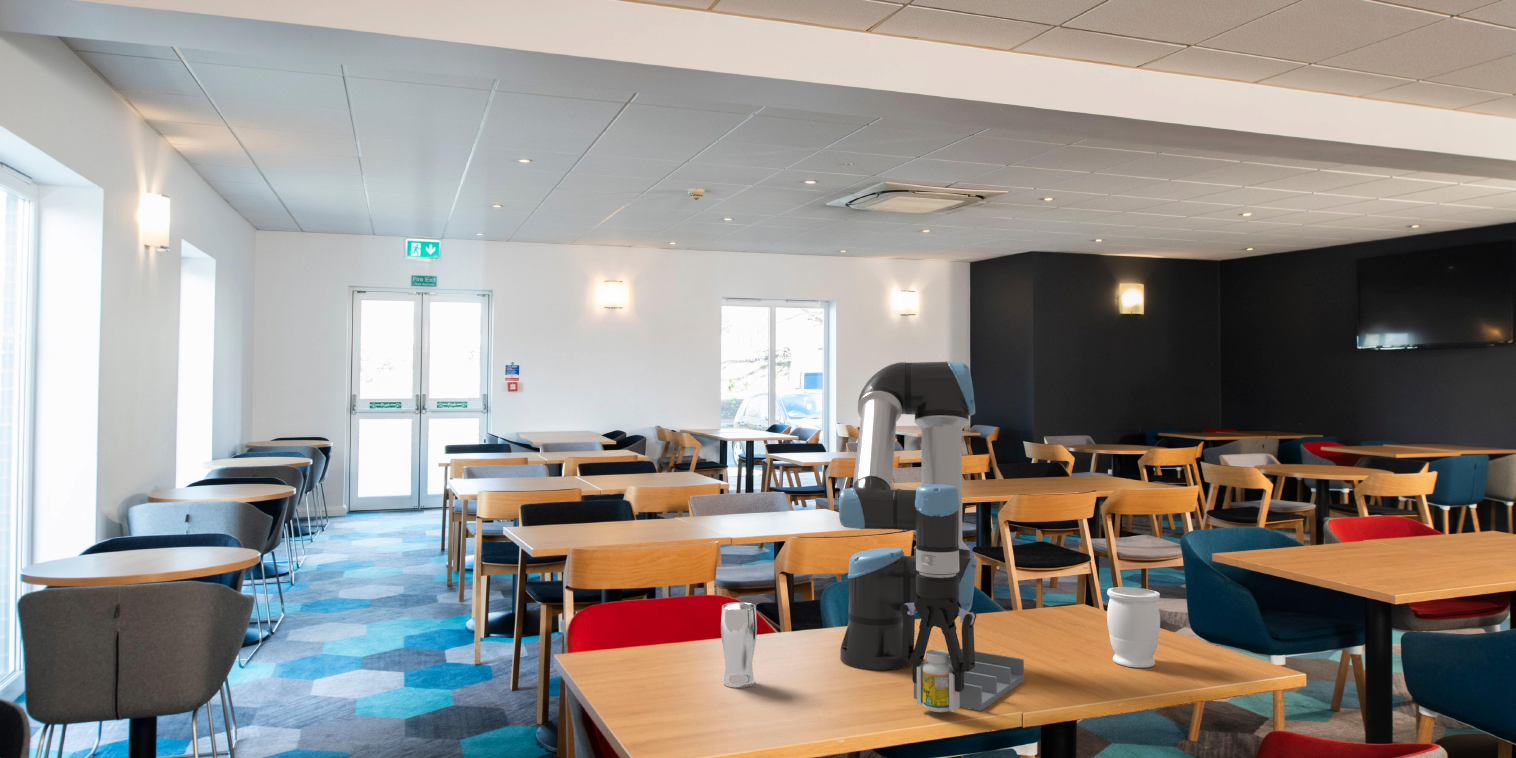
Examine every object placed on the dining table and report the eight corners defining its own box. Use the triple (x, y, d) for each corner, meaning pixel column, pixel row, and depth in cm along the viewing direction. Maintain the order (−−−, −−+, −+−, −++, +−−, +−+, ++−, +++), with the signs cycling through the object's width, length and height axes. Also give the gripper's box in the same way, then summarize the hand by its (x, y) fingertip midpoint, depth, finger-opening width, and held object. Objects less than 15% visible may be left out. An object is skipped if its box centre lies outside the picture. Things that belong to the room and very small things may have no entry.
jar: (1166, 671, 186) (1165, 597, 186) (1112, 668, 188) (1111, 595, 189) (1154, 657, 196) (1153, 587, 197) (1103, 654, 198) (1102, 585, 199)
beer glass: (725, 690, 173) (725, 610, 174) (717, 679, 180) (717, 603, 180) (760, 687, 175) (760, 608, 176) (751, 676, 182) (751, 601, 182)
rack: (913, 697, 169) (913, 674, 169) (961, 669, 187) (961, 648, 187) (980, 711, 161) (980, 687, 162) (1023, 680, 180) (1023, 659, 180)
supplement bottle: (957, 712, 158) (957, 656, 158) (926, 713, 158) (926, 657, 158) (948, 701, 163) (948, 647, 163) (919, 702, 163) (919, 648, 163)
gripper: (880, 570, 163) (881, 701, 163) (979, 583, 152) (980, 722, 152) (899, 564, 169) (900, 689, 169) (995, 575, 158) (996, 709, 158)
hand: (938, 705), depth 160 cm, fingers closed on supplement bottle, 5 cm apart
